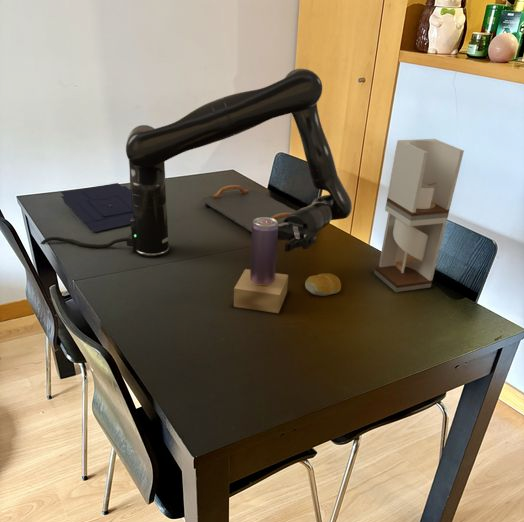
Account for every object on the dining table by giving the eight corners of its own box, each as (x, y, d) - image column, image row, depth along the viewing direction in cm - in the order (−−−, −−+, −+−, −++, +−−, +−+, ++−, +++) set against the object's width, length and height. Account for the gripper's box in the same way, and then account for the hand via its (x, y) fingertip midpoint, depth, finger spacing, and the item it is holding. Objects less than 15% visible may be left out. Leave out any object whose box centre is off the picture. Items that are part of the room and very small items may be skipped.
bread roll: (346, 291, 140) (348, 277, 138) (319, 299, 136) (320, 285, 133) (326, 278, 146) (328, 265, 143) (299, 286, 141) (300, 272, 139)
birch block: (233, 306, 131) (233, 288, 128) (244, 286, 140) (245, 268, 137) (278, 313, 129) (279, 294, 126) (286, 292, 138) (288, 274, 135)
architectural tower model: (373, 273, 150) (397, 140, 130) (407, 269, 153) (434, 138, 134) (395, 292, 141) (424, 152, 122) (430, 287, 144) (463, 150, 125)
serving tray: (196, 204, 189) (195, 186, 186) (252, 195, 201) (252, 178, 197) (257, 243, 163) (258, 223, 160) (317, 230, 174) (319, 211, 171)
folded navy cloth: (123, 189, 195) (122, 179, 193) (164, 225, 178) (164, 215, 176) (55, 200, 182) (54, 190, 180) (93, 240, 165) (92, 229, 163)
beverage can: (272, 288, 129) (276, 227, 121) (247, 284, 130) (249, 224, 121) (276, 277, 134) (280, 218, 125) (252, 274, 135) (255, 215, 126)
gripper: (281, 203, 142) (246, 221, 130) (330, 216, 136) (298, 235, 124) (279, 231, 146) (245, 250, 134) (327, 244, 140) (295, 265, 128)
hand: (270, 243), depth 129 cm, fingers open, 8 cm apart
